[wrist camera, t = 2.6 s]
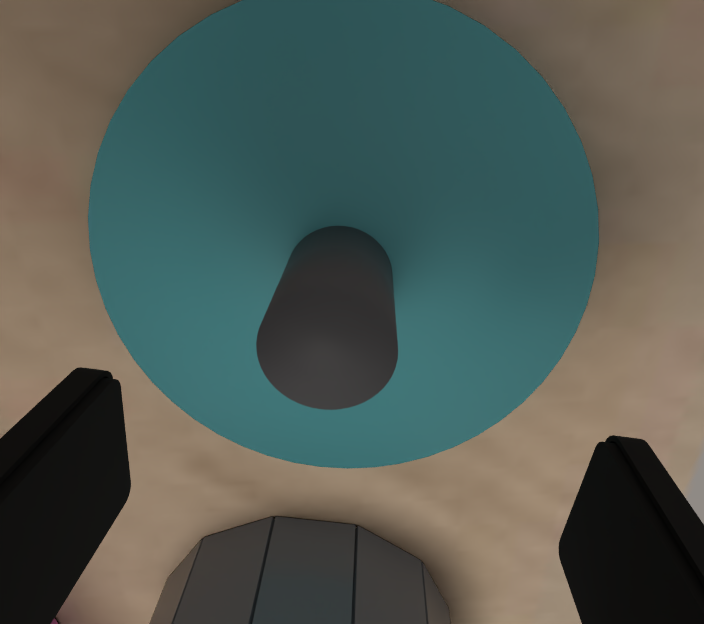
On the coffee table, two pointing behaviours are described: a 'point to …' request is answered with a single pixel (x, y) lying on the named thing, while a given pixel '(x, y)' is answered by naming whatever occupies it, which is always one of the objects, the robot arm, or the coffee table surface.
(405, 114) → the lid
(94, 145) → the coffee table surface
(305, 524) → the bowl
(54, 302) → the coffee table surface
